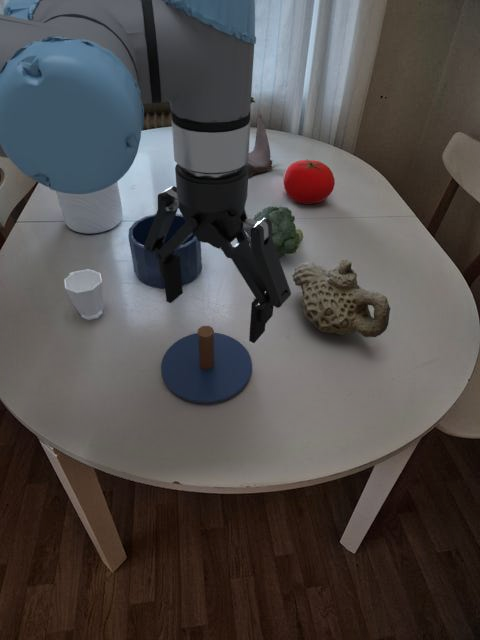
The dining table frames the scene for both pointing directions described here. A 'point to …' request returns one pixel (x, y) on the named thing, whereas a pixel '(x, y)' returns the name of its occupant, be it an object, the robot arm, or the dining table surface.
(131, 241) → the pot
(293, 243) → the vegetable
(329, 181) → the tomato
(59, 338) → the dining table surface
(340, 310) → the teapot
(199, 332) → the pot lid
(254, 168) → the potted plant
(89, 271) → the cup
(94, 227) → the vase
